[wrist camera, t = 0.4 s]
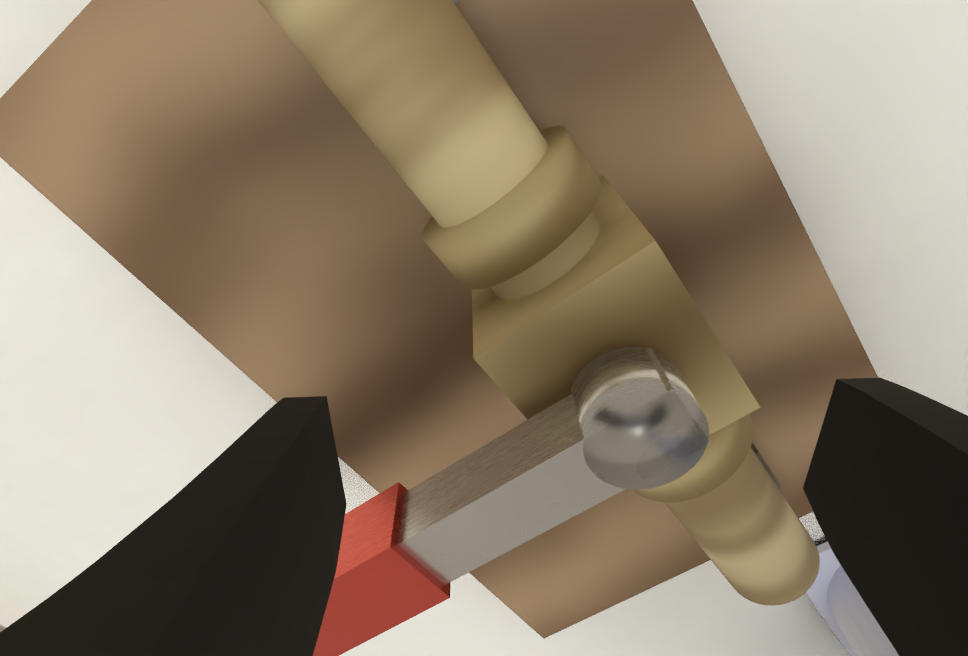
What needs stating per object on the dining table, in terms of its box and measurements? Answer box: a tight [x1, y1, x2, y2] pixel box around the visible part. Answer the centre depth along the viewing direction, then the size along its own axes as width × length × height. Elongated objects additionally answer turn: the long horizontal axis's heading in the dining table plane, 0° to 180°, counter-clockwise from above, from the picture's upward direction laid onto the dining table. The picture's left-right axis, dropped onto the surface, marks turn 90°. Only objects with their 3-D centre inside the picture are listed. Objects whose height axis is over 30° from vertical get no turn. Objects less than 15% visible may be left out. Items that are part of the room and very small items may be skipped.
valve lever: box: [313, 346, 712, 656], centre depth 13 cm, size 12×2×2 cm, turn 126°
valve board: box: [0, 0, 878, 638], centre depth 16 cm, size 26×16×6 cm, turn 36°
